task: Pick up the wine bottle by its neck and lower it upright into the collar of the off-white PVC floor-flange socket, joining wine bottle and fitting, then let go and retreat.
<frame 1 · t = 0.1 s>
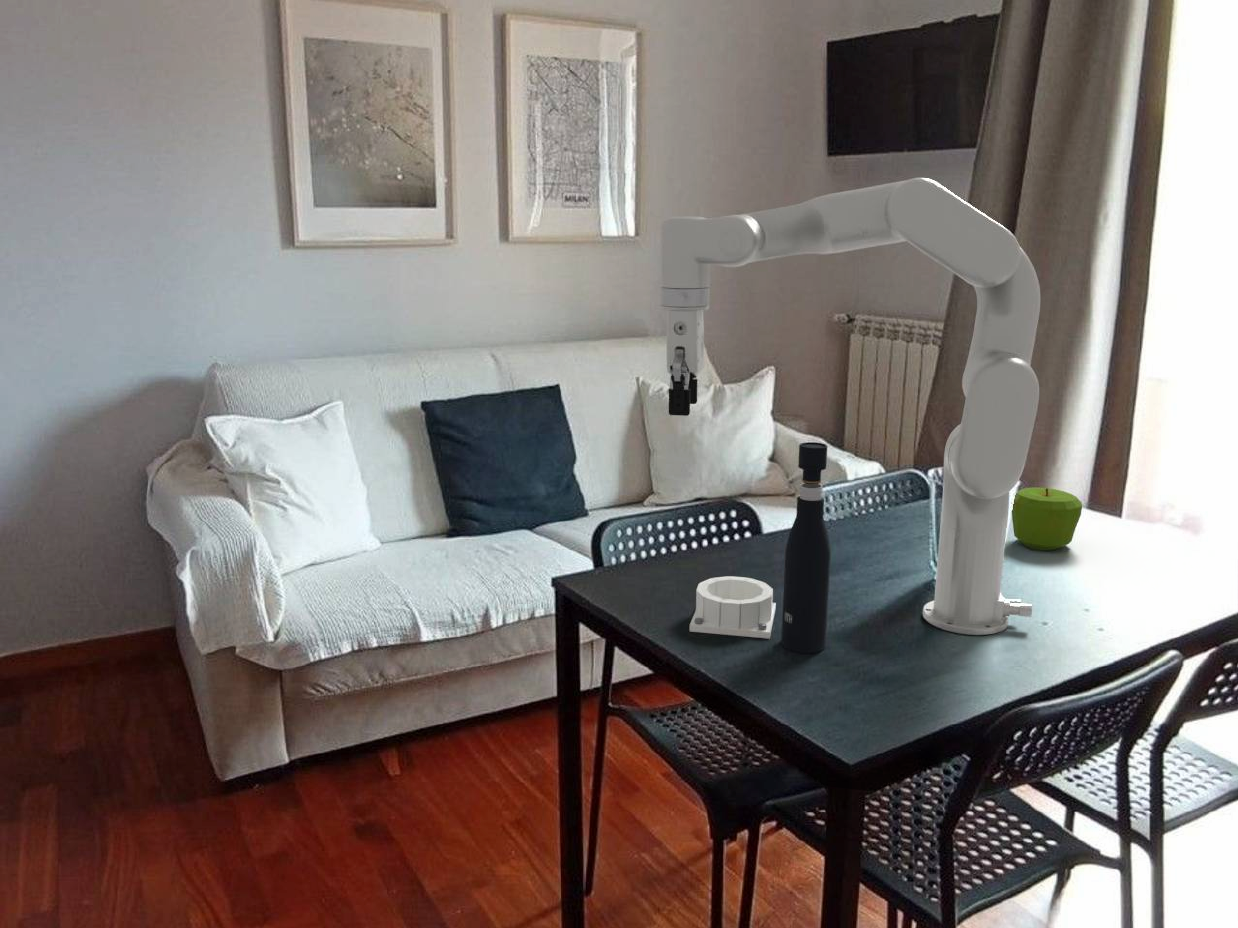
hand: (683, 409, 162), 31 cm above the table, fingers open, 9 cm apart
flange socket: (733, 619, 160), on the table
apple: (1041, 546, 196), on the table
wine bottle: (803, 645, 151), on the table
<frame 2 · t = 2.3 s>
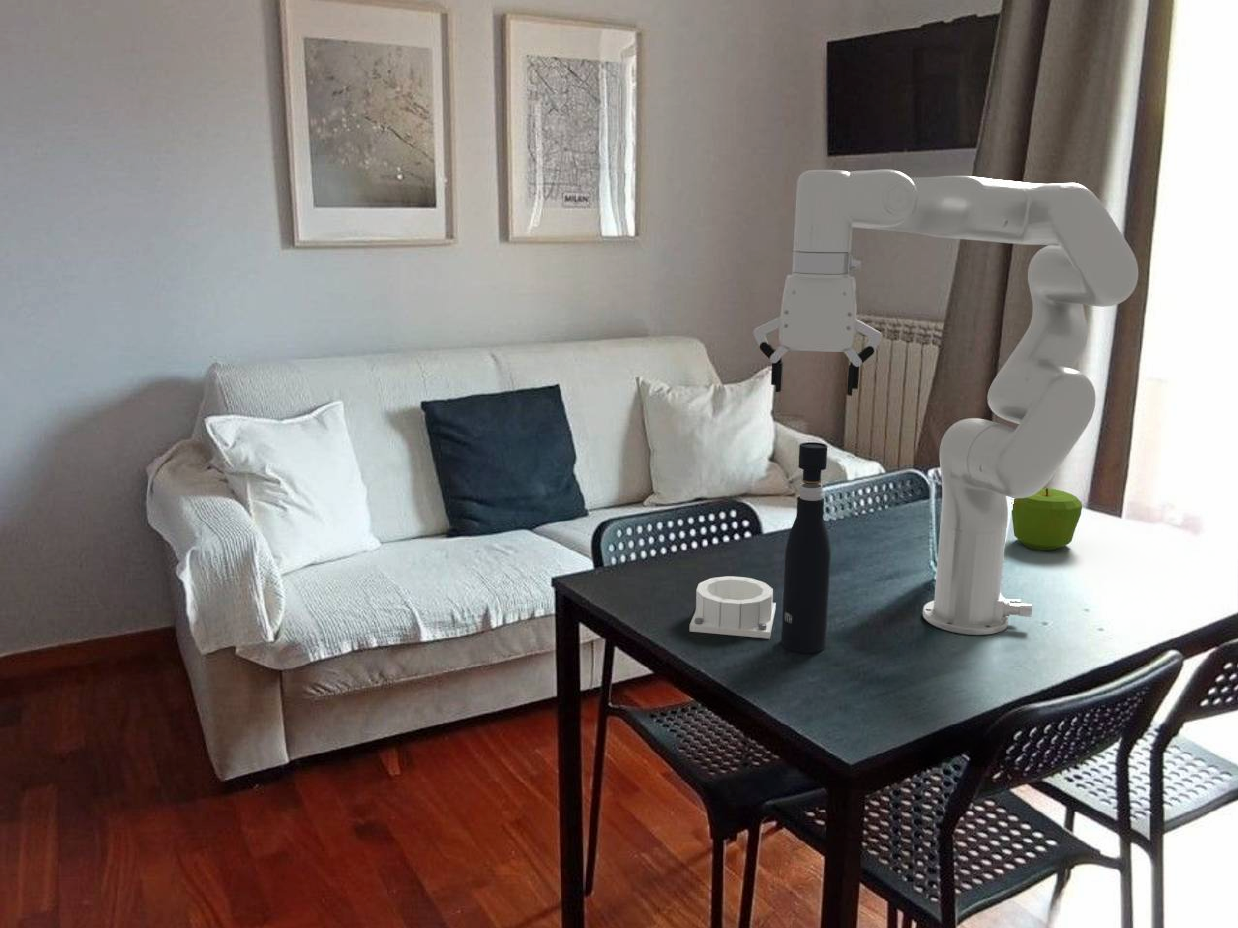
hand: (813, 392, 142), 37 cm above the table, fingers open, 9 cm apart
nothing on the table moved.
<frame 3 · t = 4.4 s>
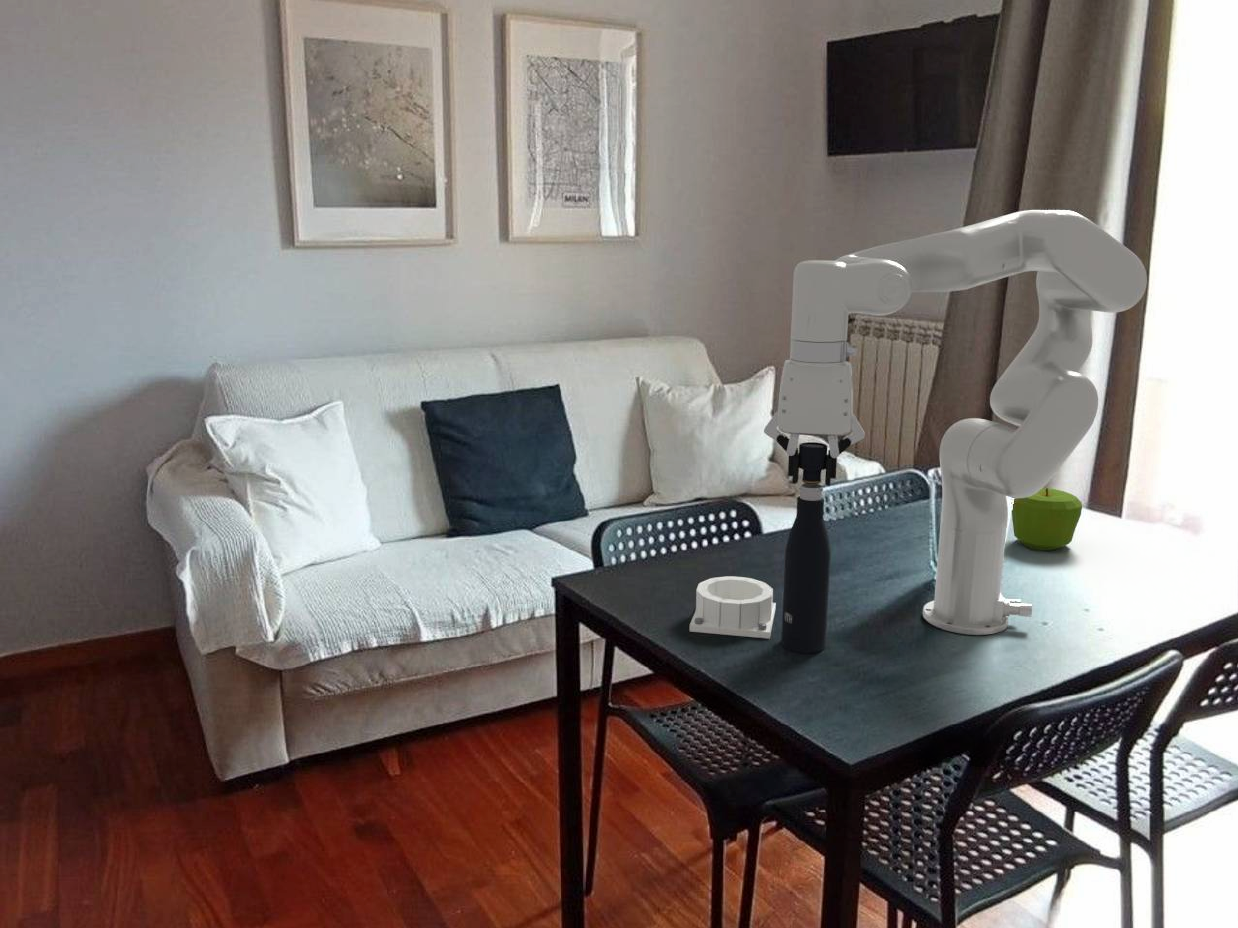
hand: (811, 481, 145), 25 cm above the table, fingers closed on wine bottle, 3 cm apart
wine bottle: (803, 645, 151), on the table, touching gripper
everything else where it was.
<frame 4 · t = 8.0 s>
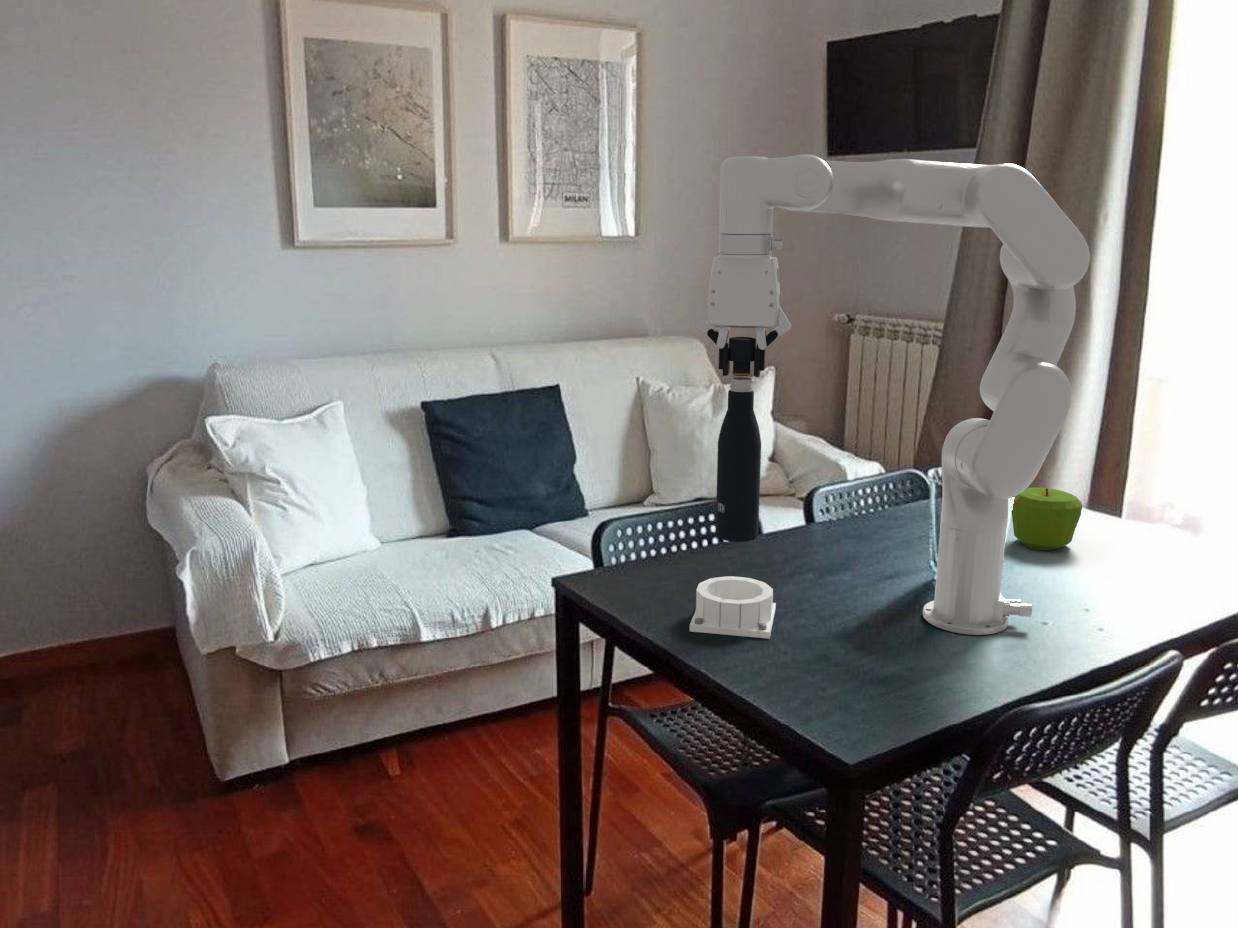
hand: (741, 373, 151), 39 cm above the table, fingers closed on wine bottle, 3 cm apart
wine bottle: (736, 536, 157), point 14 cm above the table, touching gripper
everything else where it was.
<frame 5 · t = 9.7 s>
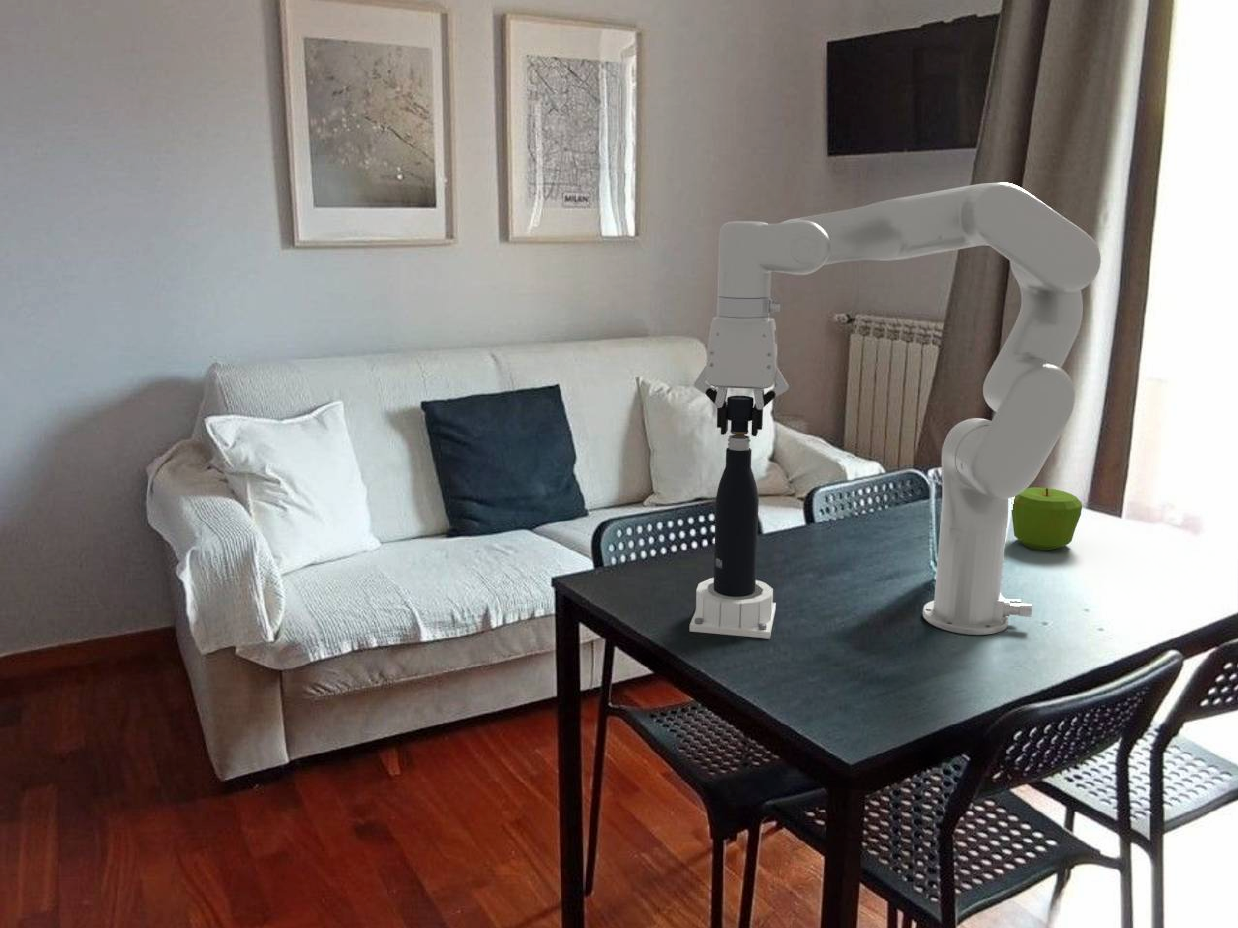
hand: (739, 432, 153), 30 cm above the table, fingers closed on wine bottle, 3 cm apart
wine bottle: (734, 590, 159), point 5 cm above the table, touching gripper
everything else where it was.
when the fingers open (26 cm above the table, at t = 11.4 s): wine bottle stays where it is, resting on flange socket.
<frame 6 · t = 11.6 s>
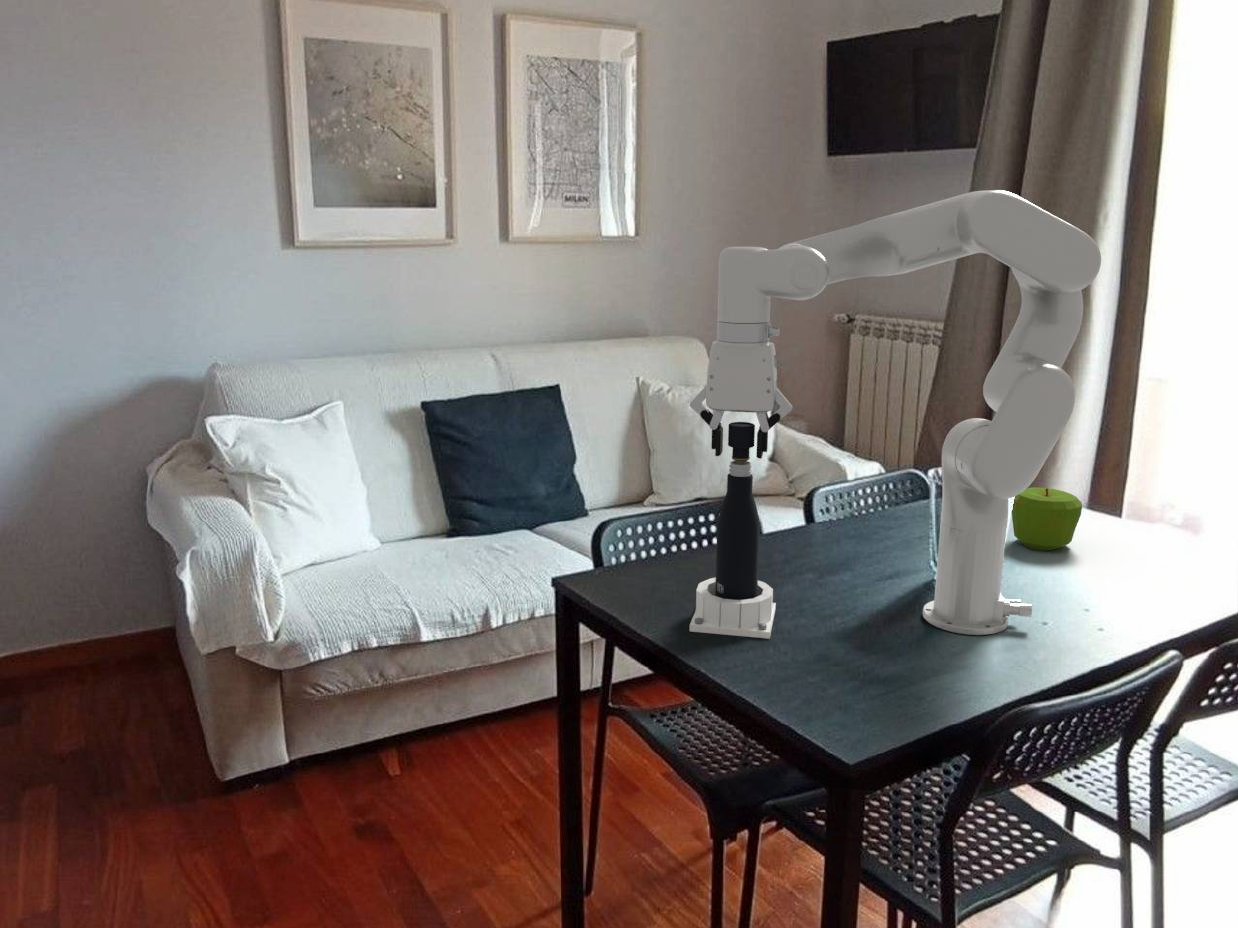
hand: (739, 454, 153), 26 cm above the table, fingers open, 5 cm apart
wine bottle: (735, 615, 160), point 1 cm above the table, touching flange socket
everything else where it was.
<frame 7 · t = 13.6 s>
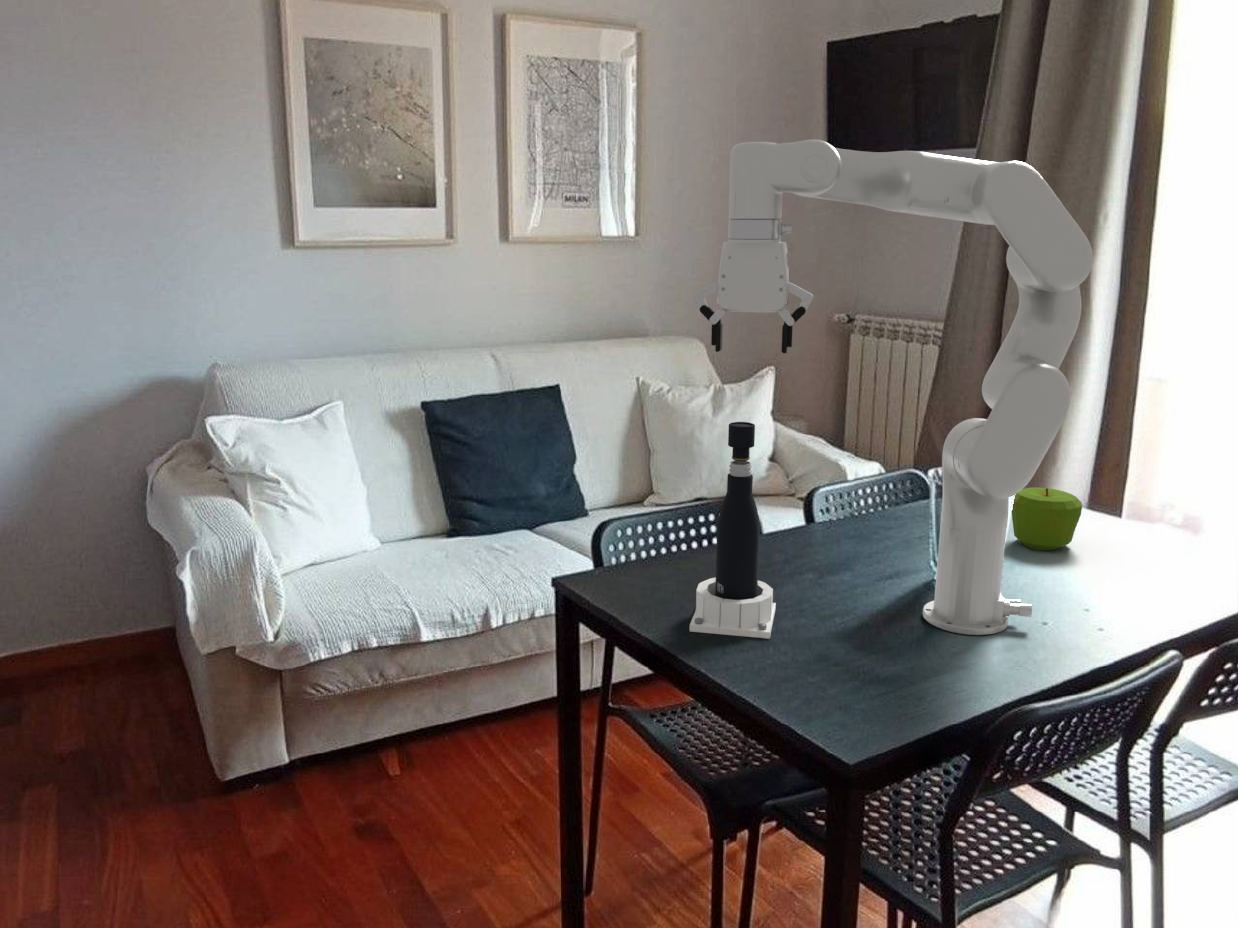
hand: (751, 351, 152), 42 cm above the table, fingers open, 9 cm apart
nothing on the table moved.
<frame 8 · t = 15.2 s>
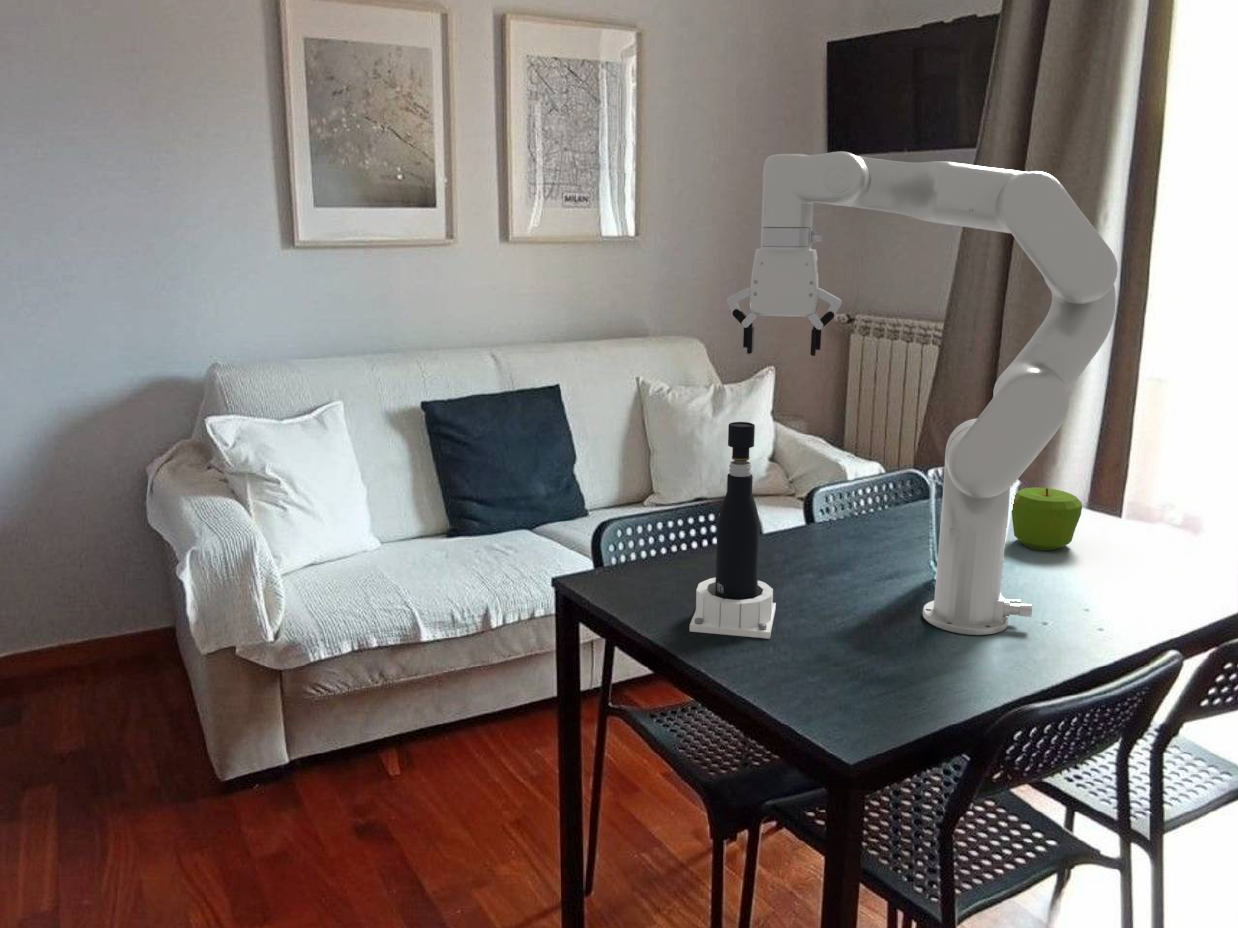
hand: (781, 353, 158), 40 cm above the table, fingers open, 9 cm apart
nothing on the table moved.
at the end: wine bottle 0.2 cm from the flange socket (horizontally); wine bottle tilted 0°; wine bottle point 0.8 cm above the table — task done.
